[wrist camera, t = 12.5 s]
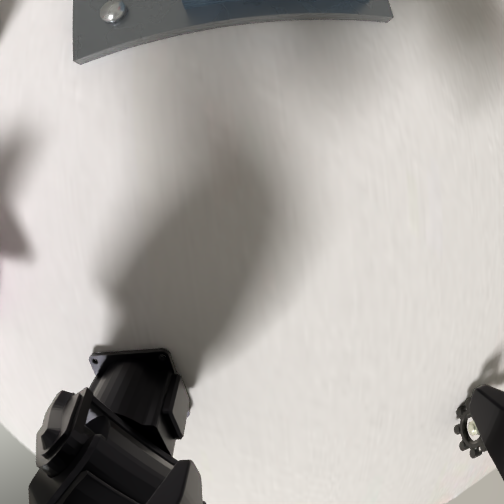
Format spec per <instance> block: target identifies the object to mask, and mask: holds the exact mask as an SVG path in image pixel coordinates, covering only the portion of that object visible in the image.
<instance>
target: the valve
mask: <svg viewBox="0 0 504 504" xmlns="http://www.w3.org/2000/svg"><path fill="white" fill-rule="evenodd" d="M471 398H472V397H471ZM471 398H468V399H466V402H465V405H464V406H462V407H459V408H458V409H457V411H456V414H457V416H458V417H459V418H460V419H461V421H460V424H458V425H456V426H455V427H454V432H455V434H461V436H462V441H461V442H460V444H459V447H460V450H461V451H464V450H466V449H469V448H470V449H471V450H470V456H471V458H476V457H478V456H480V455H481V454H482V451H483V452H485V451H487V449H486V447H485V445H484V443H483V441H482V439H481V436H480V437H479V438H478V439H477V440H475V441H473V440H472V439H471V438H470V436H469V434H468V431H469V433H470V434H471V435H472V436H474V435H476V434H479V432H478V430H477V427H476V425H475V423H474V420H473V421H471V422H469V425H468V431H467V420H468V418H470V417H472V416H471V414H470V411H469V404H470V401H471ZM466 408H467V410H466ZM479 435H480V434H479ZM479 447H480V448H481V450H479Z"/></svg>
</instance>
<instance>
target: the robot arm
mask: <svg viewBox="0 0 504 504" xmlns="http://www.w3.org/2000/svg"><path fill="white" fill-rule="evenodd" d="M161 354H163V355H165V356H166V357H162V356H161ZM95 359H96V360H97V361H96V360H95ZM89 361H90V364H91V366H92V368H93V370H94V373H95V375H96V377H95V379H94V380H93V382H92V384H91V386H90V387H89V389H88V388H87V387H86V388H84V389H83V390H82V391H80V392H79V393H77V394H75V393H70V392H66V391H63V390H62V391H60V392H59V393H58V394H57V395H56V397H55V398H54V400H53V402H52V403H51V405H50V406H49V408H48V410H47V412H46V414H45V417H44V420H43V425H42V427H41V428H40V430H39V431H38V433H37V437H36V465H37V467H39V468H40V469H39V470H38V472H37V473H36V475H35V476H34V478H33V479H32V481H31V483H30V485H29V489H28V490H29V504H206V502H205V501H203V500H202V483H201V476H200V473H199V471H198V470H197V468H196V466H195V464H194V462H193V461H192V460H179V461H177V460H176V459H175V458H173V451H174V446H175V441H176V439H181V438H182V437H183V436H184V430H185V424H186V418H187V417H188V416H189V415H190V409H189V401H190V400H189V397H188V394H187V391H186V388H185V386H184V383H183V380H182V377H181V376H180V375H179V374H177V373H176V370H175V367H174V364H173V361H172V358H171V355H170V352H169V351H168V350H167V349H164V348H159V349H148V350H135V351H121V352H104V353H93V354H92V355H91V356H90V357H89ZM469 411H470V414H471V416H472V418H473V420H474V423H475V425H476V427H477V430H478V432H479V434H480V436H481V439H482V441H483V443H484V445H485V447H486V449H487V451H488V453H489V454H490V456H491V458H492V460H493V462H494V463H495V465H496V467H497V469H498V471H499V473H500V474H501V476H502V478H503V480H504V391H501V390H499V389H496V388H493V387H491V386H488V385H481V386H479V387H477V388H475V389H474V391H473V394H472V398H471V401H470V404H469Z"/></svg>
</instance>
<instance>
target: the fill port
mask: <svg viewBox="0 0 504 504" xmlns="http://www.w3.org/2000/svg"><path fill="white" fill-rule="evenodd" d="M392 18H393V14H392V11H391V7H390V4H389V1H388V0H73V61H74V62H76V63H78V64H80V65H81V64H84V63H86V62H89V61H92V60H94V59H97V58H100V57H103V56H106V55H109V54H112V53H115V52H118V51H121V50H124V49H128V48H131V47H134V46H138V45H141V44H145V43H149V42H152V41H156V40H160V39H164V38H168V37H173V36H177V35H182V34H186V33H191V32H196V31H202V30H207V29H213V28H219V27H226V26H233V25H241V24H249V23H259V22H270V21H284V20H307V19H340V20H364V21H377V22H388V21H390V20H391V19H392Z"/></svg>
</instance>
